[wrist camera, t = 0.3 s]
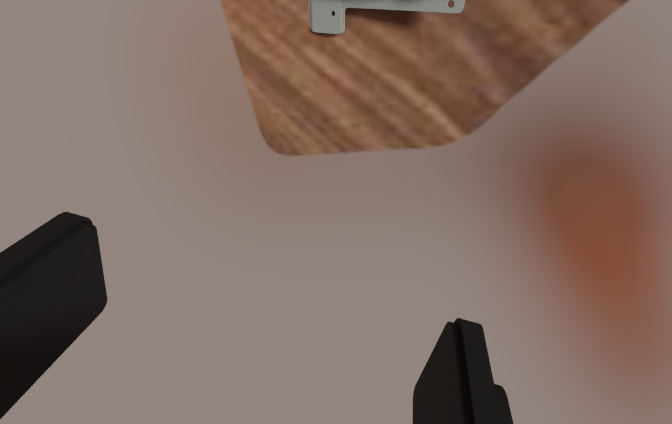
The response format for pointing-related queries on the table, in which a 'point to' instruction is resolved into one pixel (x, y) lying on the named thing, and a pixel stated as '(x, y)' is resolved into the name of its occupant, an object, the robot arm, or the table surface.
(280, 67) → the table surface
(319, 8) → the metal bracket
